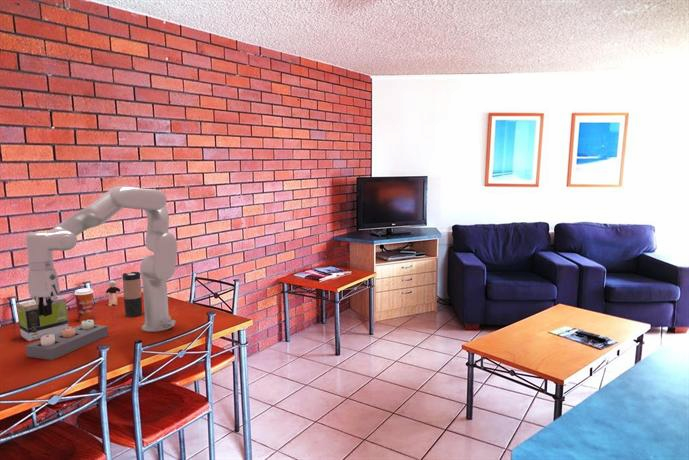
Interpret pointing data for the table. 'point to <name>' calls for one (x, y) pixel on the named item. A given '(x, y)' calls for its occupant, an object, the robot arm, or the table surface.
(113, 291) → the grandmother figurine
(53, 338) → the white round knob
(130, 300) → the travel mug
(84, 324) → the sage button
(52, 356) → the button panel
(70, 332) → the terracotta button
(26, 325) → the tea box
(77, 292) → the paper cup
